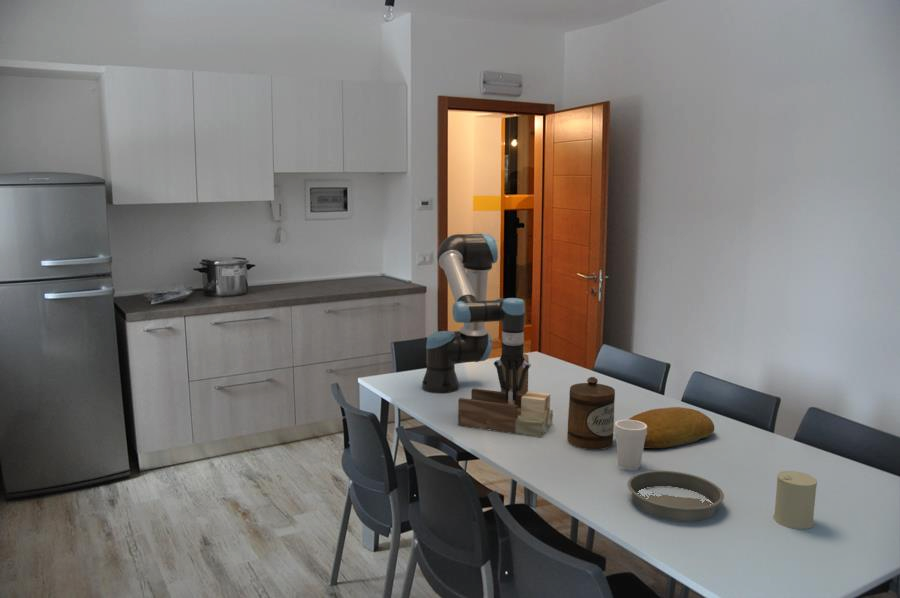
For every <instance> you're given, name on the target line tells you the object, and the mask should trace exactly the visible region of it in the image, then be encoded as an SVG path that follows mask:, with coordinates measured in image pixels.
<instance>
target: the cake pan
mask: <svg viewBox="0 0 900 598" xmlns="http://www.w3.org/2000/svg"><path fill="white" fill-rule="evenodd" d="M655 486H671V487H670V488H674V487H678V488H677V489H681V488H683V489H682V490H686V489H687V490H686V491H689V490H691V491H690V492H692V491H694V492H693V493H695V492H697V493H696V494H698V493H699V494H698V495H700V494H701V495H700V496H702V495H703V496H702V497H704V496H705V499H709V500H710V501H711V502H712V503H713V504H712V503H710V502H708V501H706V500H705V501H704V502H703V503H702V501H700V500H701V499H702V498H696V499H695V498H694V497H683V496H682V497H681V496H677V497H675V496H676V495H671V496H669V495H670V494H664V493H660V494H661V495H662V496H659V497H658V496H656V495H655V496H653V495H650V496H649V495H648V494H647V495H648V496H649V498H648V497H647V496H646V495H645V497H644V496H642V495H641V494H640V493H639V492H638V491H639V490H641V489H644V488H646V489H648V488H647V487H651V488H656V487H655ZM627 488H628V490H629V491H630V493H631V495H632V500H633V503H634V504H635V506H636V507H637V508H639V509H640V510H641V511H643V512H645V513H647V514H649V515H652V516H653V517H654V516H655V517H657V518H661V519H664V520H670V521H675V522H697V521H702V520H707V519H708V518H711V517H712V516H713V515H715V513H716V511H717V509H718V505H720V504H721V503H722V502H723V500H724V498H725V494H724V492H723V490H722V489H721V488H720V487H719V486H718V485H717V484H715V483H714V482H712V481H709V480H708V479H705V478H703V477H701V476H698V475H694V474H691V473H686V472H680V471H675V470H650V471H649V470H648V471H643V472H639V473H636V474H634V475H633V476H631V477H629V479H628V481H627ZM637 493H639V494H637ZM652 494H654V493H652ZM663 494H664V495H663ZM640 495H641V496H640ZM646 498H648V499H646ZM710 504H711V505H710Z"/></svg>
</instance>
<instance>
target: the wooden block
mask: <svg viewBox="0 0 900 598" xmlns="http://www.w3.org/2000/svg"><path fill="white" fill-rule="evenodd" d="M523 357H524V359H525V362H526V363H528V364H530V363H529V361H530V360H529V358H530V357H529V355H528V354H525V353H523ZM501 366H502V369H503V374H504V379H505V383H506V372H505V370H506V368H505V367H504V365H503V363H502V365H501ZM523 369H524V368H523V364H522V365H521V366H520V368H519V371H518V386H519V382H520V378H521V375H522V371H523ZM510 390H513V370H511V389H510ZM528 391H529V370H528V371H527V374H526V378H525V382H524V385H523V388H522V389H521V390H520V391H517V394H524V395H525V394H526V393H527V392H528ZM500 392H506V390H505V389H501V388H500Z"/></svg>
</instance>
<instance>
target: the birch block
mask: <svg viewBox="0 0 900 598" xmlns="http://www.w3.org/2000/svg"><path fill="white" fill-rule="evenodd" d="M550 410H551V393H545V392H537V391H529V390H528V392H527V393H526V394H525V395H524V396H522V397H521V417H524V418H531V419H538V420H544V419H545V418H546V417H547V416H548V415H549V414H550Z"/></svg>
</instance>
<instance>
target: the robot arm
mask: <svg viewBox="0 0 900 598" xmlns="http://www.w3.org/2000/svg"><path fill="white" fill-rule="evenodd" d="M496 242H497V241H496V239H495V237H494V236H493V235H492V234H489V233H488V234H487V233H485V234H484V233H469V234H468V233H467V234H466V233H464V234H459V233H456V234H452V235H450V236H448V237H446V238H444V240H443V241H442V242H441V244H440V245H439V247H438V250H437V254H436V255H437V256H436V258H437V263H438V265H439V267H440V269H442V270H443V271H444V275H445V277H446V280H447V283H448V285H449V289H450V290H451V291H450V292H451V294H452V296H453V299H454V303H453V305H452V311H451V313H452V318H453V320H454V322H456V323H458V324H459V323H460V324H461V323H463V325H462V327H461V328H460V329H459V334H456V333H455V331H454V330H441V331H436V332H433V333H431V334H429V335H428V336H427V337H426V338H427V339H426V345H425V349H426V371H425V374H424V377H423V378H422V382H421V383H422V384H421V385H422V390H424V391H426V392H428V393H429V392H430V393H437V394H441V393H443V394H444V393H451V392H455V391H457V390H459V387H460V385H459V384H460V383H459V380H458V377H457V374H456V369H455V365H456V364H458V363H460V364H461V363H479V362H483V361H484V362H485V361H487V360H488V358H490V356H491V353H492V348H493V347H492V346H493V342H492V340H493V339H492V336H491V334H490V333H489V332H488V329H487V328H486V327H485V323H487V322H489V323H490V322H491V323H492V322H502V323H501V325H502V326H501V327H502V328H501V342H502V344H501V355H500V357H499V359H498V360H495V361H494V362H493V366H494V367H495V368H496V371H497V373H496V374H497V377H498V381H499V385H500V390H501V389H505V390H506V399H507V400H508V404H512V405H514V401H516V400H517V391H520V390H521V389H522V388H523V385H524V382H525V378H526V374H527V371H528V372H529V370H530V367H532V365H531V363H529V364H528V363H526V362H525V359H524V357H523V354H524V344H523V343H524V341H525V339H524V337H525V331H524V330H525V311H526V309H525V308H526V306H525V301H524V300H523V299H522V298H517V297H508V298H507V297H506V298H500V297H499V298H496V299H494V300H493V299H491V300H487V291H488V290H487V289H488V276H489V275H488V274H489V272H490V271H491V270H492V269H493V264H495V263H497V262H498V258H499V252H498V246H497V243H496ZM502 363H503V365H504V367H505V368H506V370H505V372H506V383H505V379H504V374H503V369H502V366H501V365H502ZM522 364H523V368H524V369H523V371H522V375H521V378H520V382H519V386H518V371H519V368H520V366H521V365H522ZM511 370H513V390H510V389H511Z"/></svg>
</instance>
